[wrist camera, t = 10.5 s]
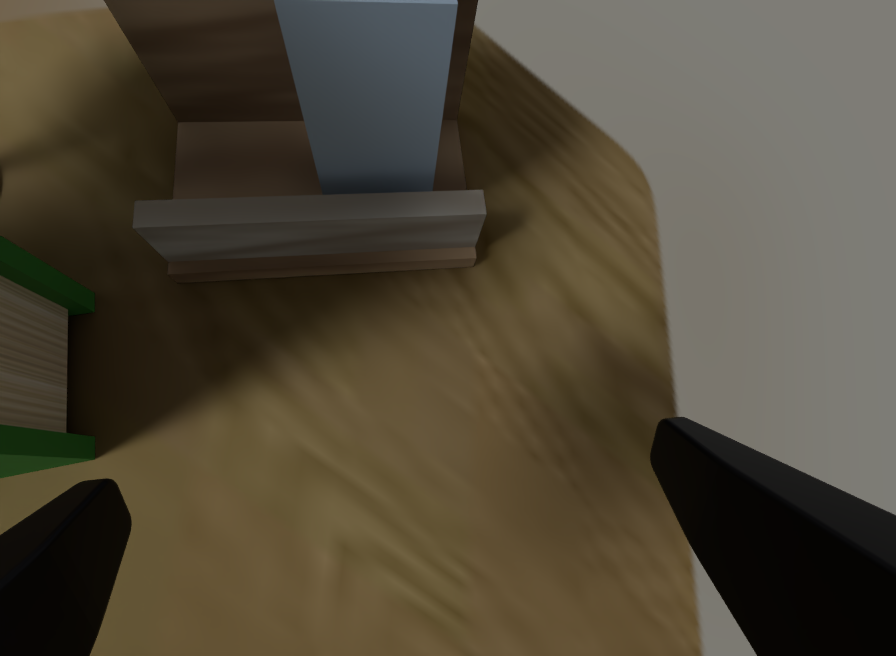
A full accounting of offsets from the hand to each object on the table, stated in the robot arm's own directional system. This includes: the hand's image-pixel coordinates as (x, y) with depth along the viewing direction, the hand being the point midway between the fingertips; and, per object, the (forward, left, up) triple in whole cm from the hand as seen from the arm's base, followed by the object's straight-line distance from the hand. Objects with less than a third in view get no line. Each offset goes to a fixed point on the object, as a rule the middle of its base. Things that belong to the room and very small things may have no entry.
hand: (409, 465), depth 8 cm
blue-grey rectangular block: (+15, +2, -12) cm, 19 cm away
